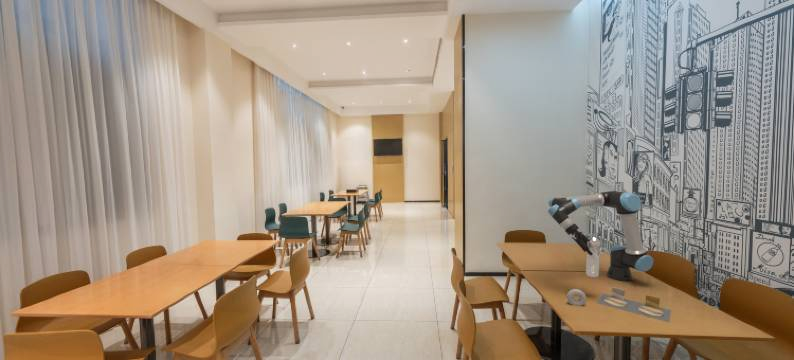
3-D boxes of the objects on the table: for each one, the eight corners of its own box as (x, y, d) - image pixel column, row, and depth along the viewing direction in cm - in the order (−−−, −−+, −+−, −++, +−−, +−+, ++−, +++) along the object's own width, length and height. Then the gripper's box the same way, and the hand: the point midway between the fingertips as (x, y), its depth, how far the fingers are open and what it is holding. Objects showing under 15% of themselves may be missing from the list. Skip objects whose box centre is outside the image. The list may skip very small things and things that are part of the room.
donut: (584, 305, 180) (585, 289, 180) (586, 308, 177) (587, 291, 176) (565, 303, 183) (566, 287, 182) (567, 306, 180) (567, 289, 179)
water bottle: (583, 273, 192) (584, 233, 190) (593, 273, 192) (595, 233, 190) (590, 277, 185) (592, 236, 183) (601, 277, 185) (603, 236, 183)
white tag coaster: (607, 295, 192) (607, 285, 192) (629, 300, 184) (629, 290, 184) (602, 302, 182) (602, 292, 181) (625, 308, 174) (626, 298, 174)
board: (602, 295, 194) (603, 293, 194) (671, 312, 172) (671, 310, 172) (596, 304, 182) (596, 302, 181) (669, 324, 159) (669, 322, 159)
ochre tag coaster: (640, 303, 181) (640, 293, 180) (665, 309, 173) (665, 299, 173) (636, 311, 170) (637, 301, 170) (663, 318, 163) (663, 307, 163)
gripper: (569, 227, 205) (596, 257, 195) (559, 232, 191) (588, 265, 181) (578, 220, 201) (607, 251, 191) (569, 225, 187) (599, 258, 177)
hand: (598, 257), depth 186 cm, fingers closed on water bottle, 7 cm apart
